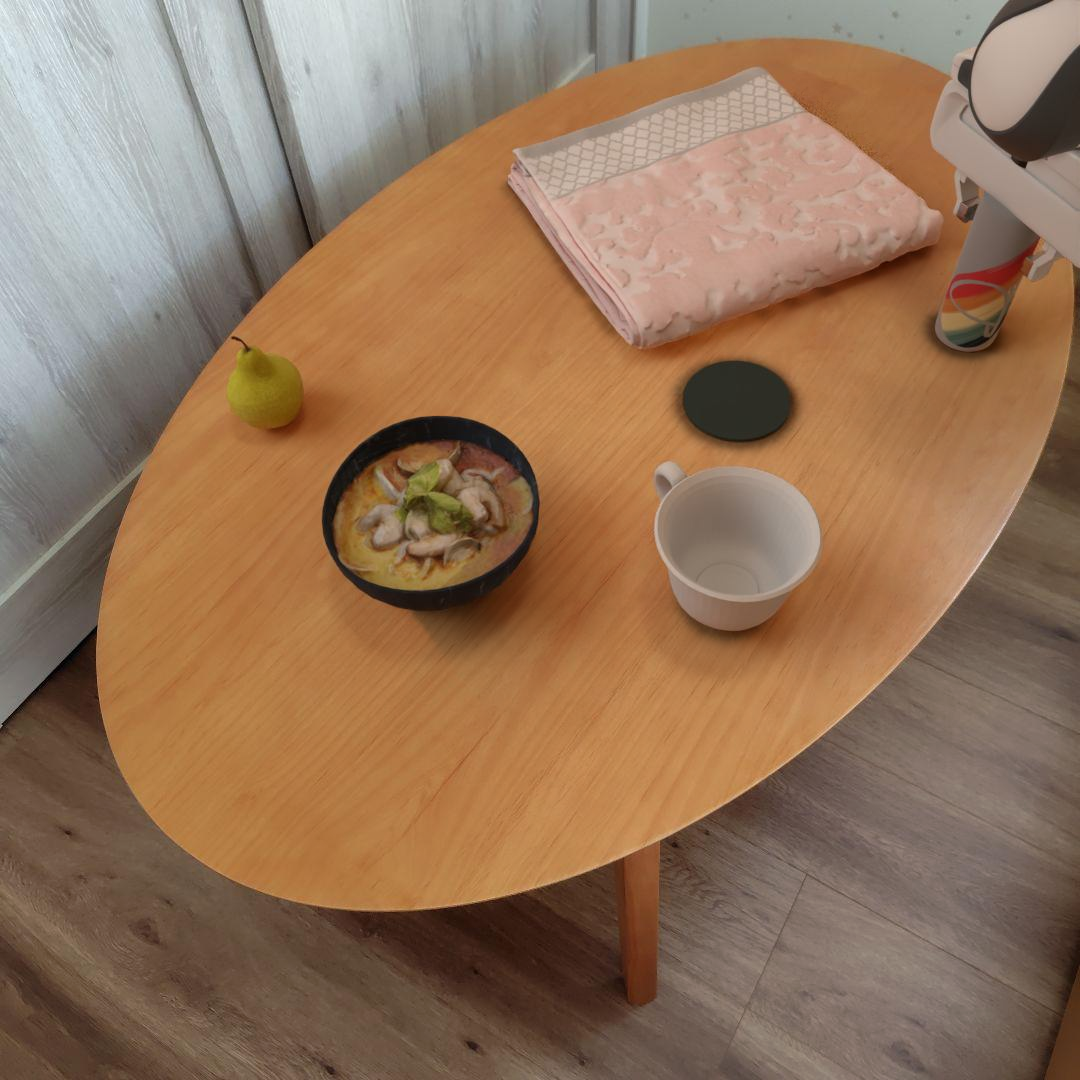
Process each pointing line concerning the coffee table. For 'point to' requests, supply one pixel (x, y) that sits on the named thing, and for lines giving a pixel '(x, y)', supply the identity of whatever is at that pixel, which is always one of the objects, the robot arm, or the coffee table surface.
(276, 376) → the fruit
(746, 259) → the towel
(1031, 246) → the lotion bottle
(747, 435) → the coaster
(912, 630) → the coffee table surface
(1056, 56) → the robot arm
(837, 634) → the coffee table surface
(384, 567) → the bowl
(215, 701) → the coffee table surface
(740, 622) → the teacup
